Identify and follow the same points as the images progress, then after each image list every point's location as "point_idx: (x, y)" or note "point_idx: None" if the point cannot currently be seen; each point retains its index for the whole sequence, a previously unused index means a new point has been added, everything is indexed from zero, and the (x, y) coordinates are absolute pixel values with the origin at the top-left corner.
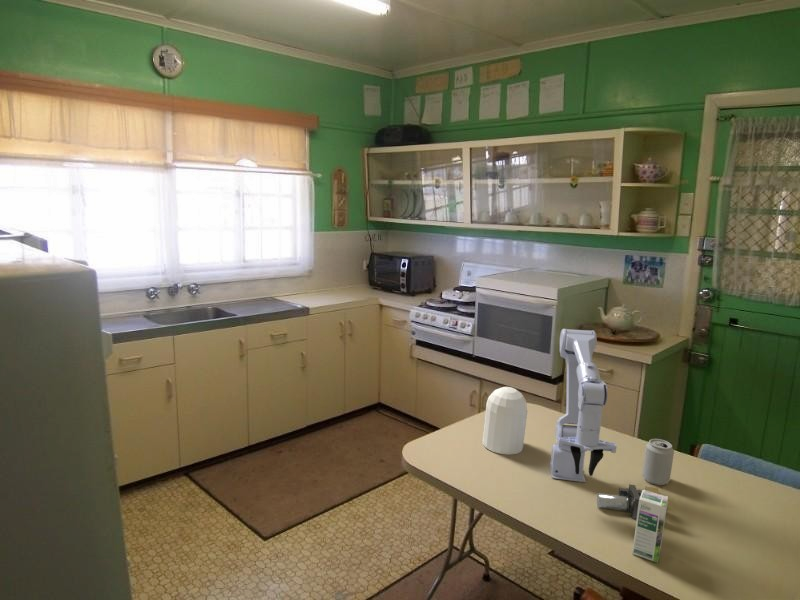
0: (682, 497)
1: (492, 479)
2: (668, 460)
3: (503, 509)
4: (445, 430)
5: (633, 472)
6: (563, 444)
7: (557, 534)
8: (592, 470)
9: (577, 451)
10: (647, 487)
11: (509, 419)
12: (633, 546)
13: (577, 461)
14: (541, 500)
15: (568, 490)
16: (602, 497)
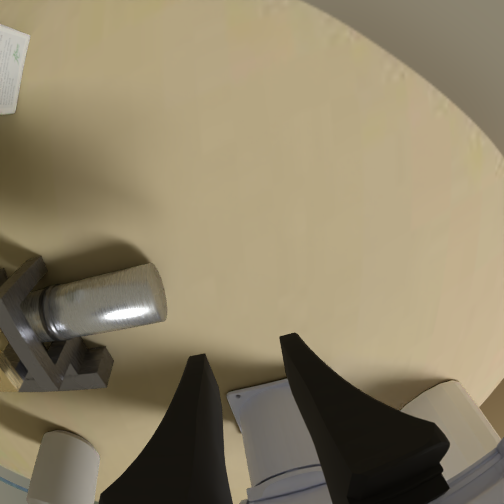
0: (4, 399)
1: (479, 269)
2: (31, 483)
3: (466, 119)
4: (498, 383)
5: (121, 456)
6: (496, 461)
7: (298, 13)
8: (188, 384)
9: (388, 483)
10: (11, 387)
11: (473, 458)
12: (14, 29)
13: (337, 400)
14: (371, 221)
15: (276, 331)
16: (135, 294)
